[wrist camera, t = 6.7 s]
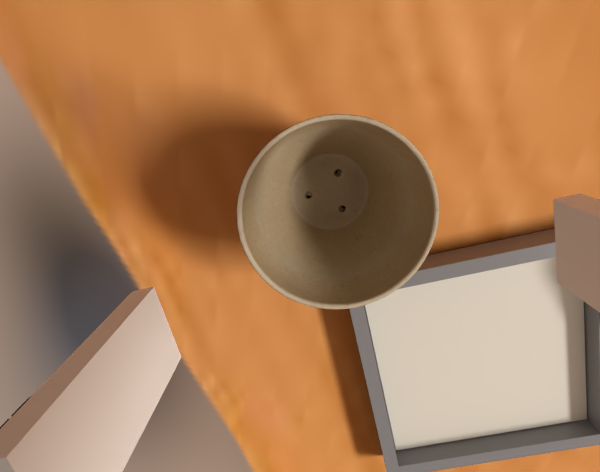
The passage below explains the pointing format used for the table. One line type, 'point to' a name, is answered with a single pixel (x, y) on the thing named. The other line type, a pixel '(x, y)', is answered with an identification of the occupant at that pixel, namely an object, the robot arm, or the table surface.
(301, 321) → the table surface
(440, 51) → the table surface
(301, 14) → the table surface
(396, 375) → the tray
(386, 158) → the flower pot
